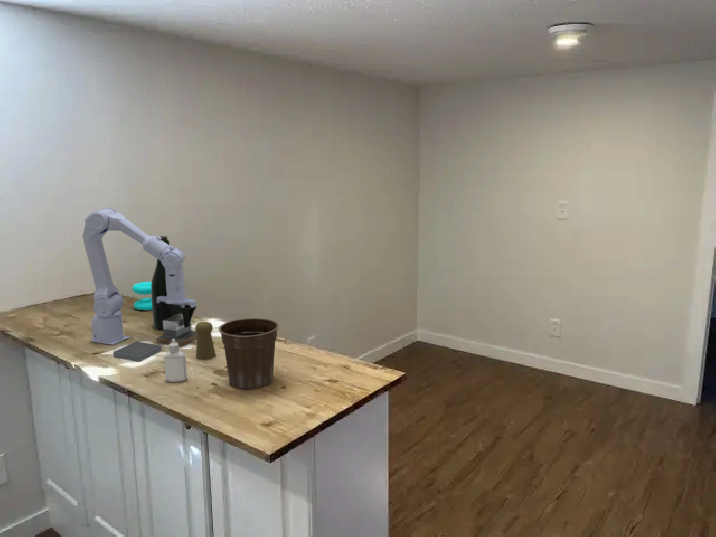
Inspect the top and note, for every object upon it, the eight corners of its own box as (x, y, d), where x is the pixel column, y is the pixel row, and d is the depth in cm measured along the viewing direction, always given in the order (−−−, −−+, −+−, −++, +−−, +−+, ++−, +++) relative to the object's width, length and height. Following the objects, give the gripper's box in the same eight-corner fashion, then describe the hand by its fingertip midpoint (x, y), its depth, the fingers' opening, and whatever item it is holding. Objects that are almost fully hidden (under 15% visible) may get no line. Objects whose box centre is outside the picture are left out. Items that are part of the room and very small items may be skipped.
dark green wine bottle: (147, 327, 204) (140, 236, 197) (171, 320, 213) (165, 233, 205) (165, 332, 198) (158, 239, 191) (190, 325, 207) (184, 235, 200)
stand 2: (157, 343, 188) (156, 337, 188) (176, 333, 197) (176, 328, 197) (181, 347, 185) (181, 341, 184) (200, 337, 194) (200, 331, 193)
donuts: (144, 280, 232) (164, 282, 228) (146, 303, 234) (166, 306, 230) (126, 285, 223) (147, 288, 219) (128, 310, 225) (149, 312, 221)
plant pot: (230, 369, 167) (227, 316, 164) (284, 369, 167) (283, 317, 163) (214, 392, 151) (211, 335, 148) (274, 393, 151) (273, 336, 147)
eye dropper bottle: (178, 384, 156) (175, 343, 154) (163, 380, 159) (160, 340, 156) (189, 378, 160) (186, 338, 158) (174, 375, 163) (171, 335, 160)
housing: (164, 337, 188) (162, 320, 186) (179, 330, 195) (178, 313, 194) (176, 339, 186) (175, 322, 184) (191, 332, 193) (190, 315, 192)
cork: (210, 360, 173) (208, 326, 171) (192, 359, 175) (189, 325, 172) (218, 353, 179) (217, 320, 177) (201, 352, 180) (199, 319, 178)
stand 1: (113, 357, 176) (113, 351, 175) (136, 346, 185) (136, 340, 184) (139, 361, 172) (139, 355, 172) (161, 350, 182) (161, 344, 181)
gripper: (149, 286, 186) (152, 326, 189) (185, 291, 181) (188, 331, 184) (163, 282, 192) (166, 320, 195) (199, 286, 187) (201, 325, 190)
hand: (177, 325), depth 190 cm, fingers open, 7 cm apart
